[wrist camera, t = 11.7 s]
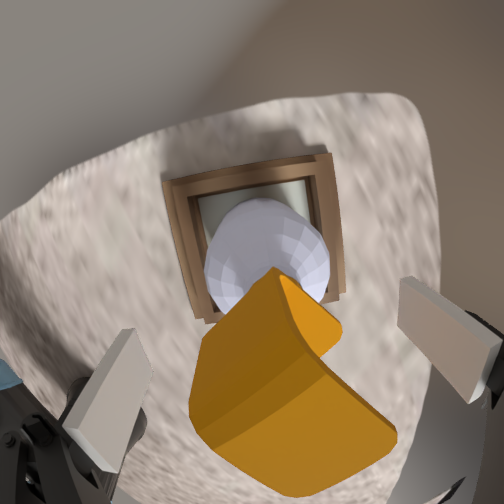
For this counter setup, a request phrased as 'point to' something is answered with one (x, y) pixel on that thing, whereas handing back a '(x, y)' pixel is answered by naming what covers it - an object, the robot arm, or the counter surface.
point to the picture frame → (243, 188)
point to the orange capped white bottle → (278, 359)
